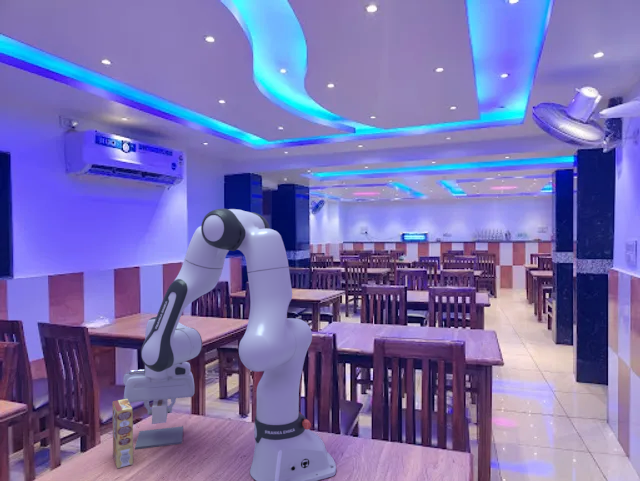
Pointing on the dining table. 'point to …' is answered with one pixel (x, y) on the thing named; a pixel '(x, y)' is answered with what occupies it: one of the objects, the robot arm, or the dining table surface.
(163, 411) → the block
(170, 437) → the mat
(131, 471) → the dining table surface
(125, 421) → the candy box
